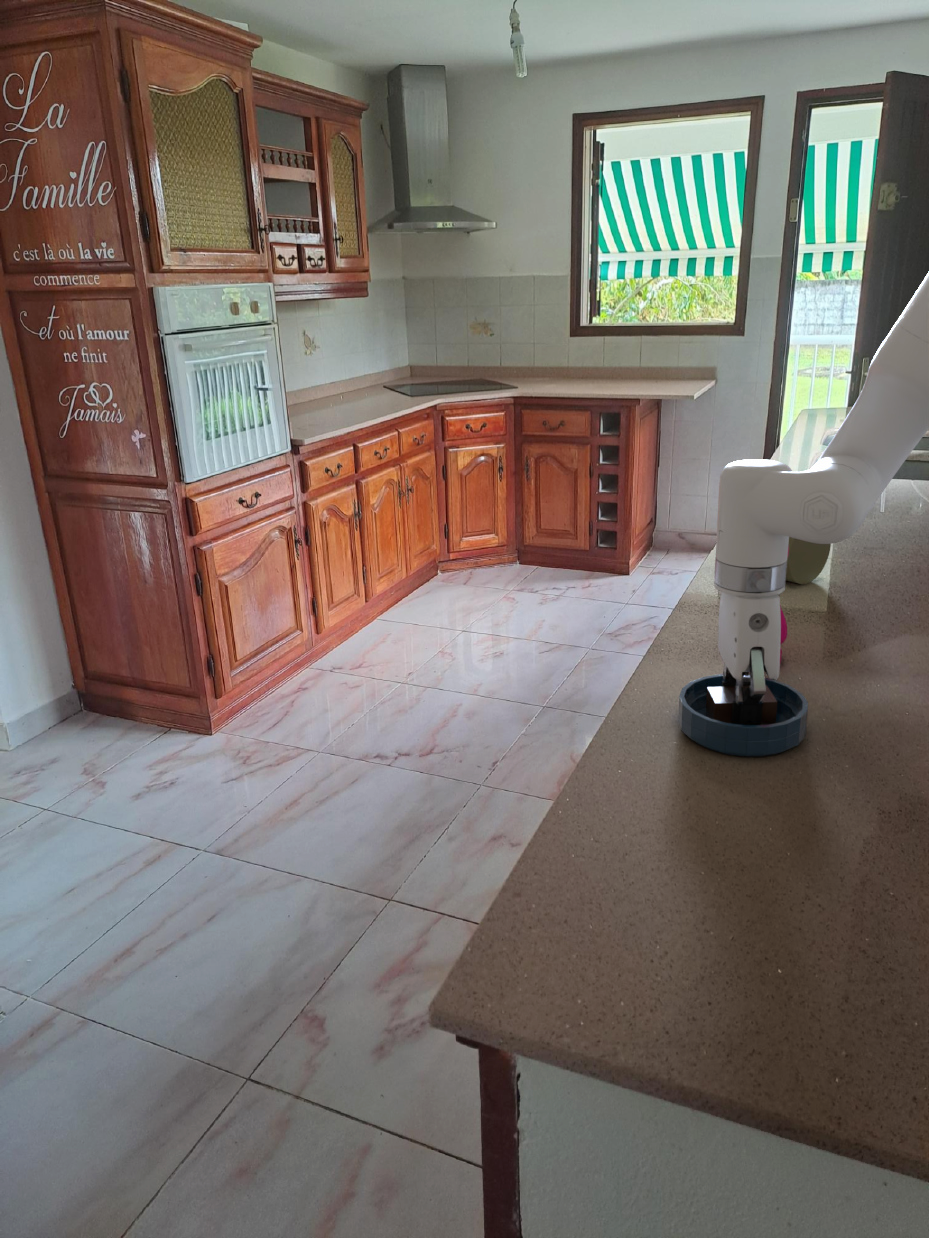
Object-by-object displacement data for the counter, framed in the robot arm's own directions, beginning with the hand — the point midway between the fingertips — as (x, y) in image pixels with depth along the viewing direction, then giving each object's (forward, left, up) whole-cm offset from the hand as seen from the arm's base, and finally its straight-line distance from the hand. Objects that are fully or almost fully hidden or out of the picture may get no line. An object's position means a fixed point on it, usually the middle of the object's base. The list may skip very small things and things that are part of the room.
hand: (740, 720), depth 103 cm
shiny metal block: (0, 0, -1) cm, 1 cm away
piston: (-20, -57, -1) cm, 60 cm away
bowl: (0, 0, -1) cm, 1 cm away
